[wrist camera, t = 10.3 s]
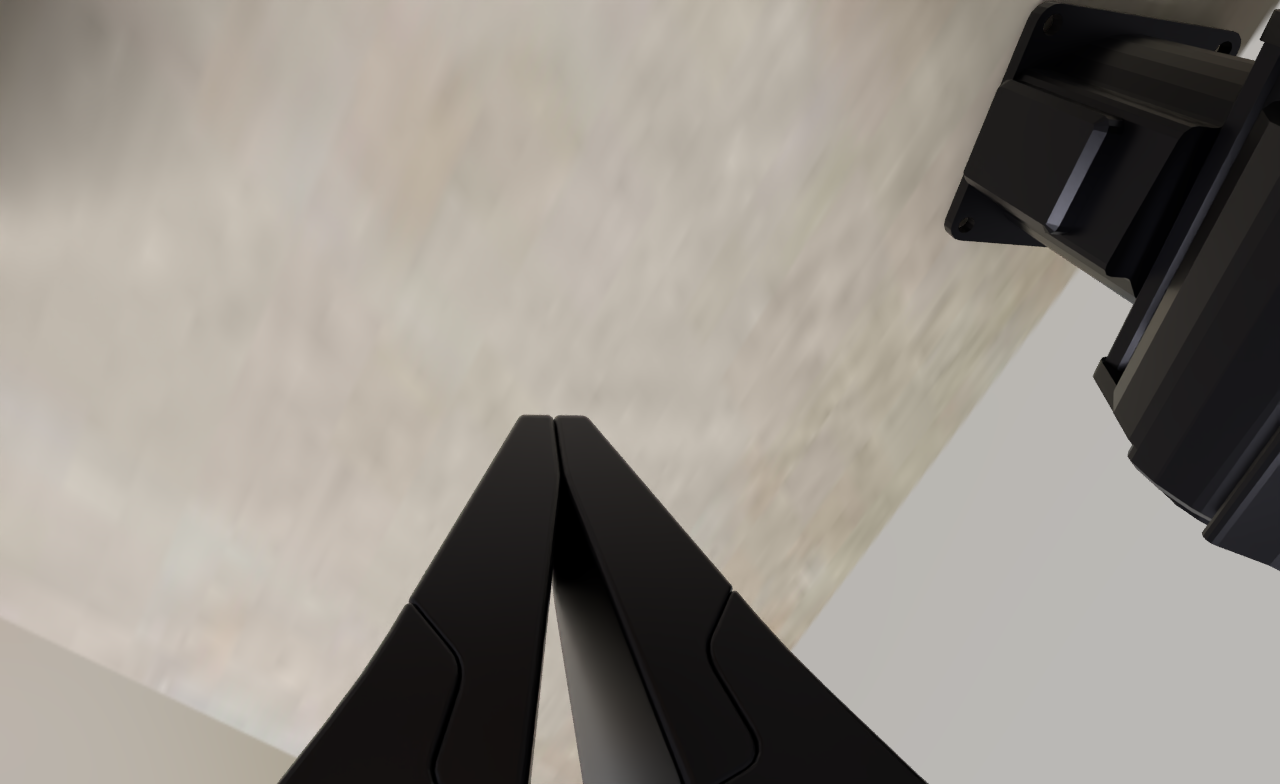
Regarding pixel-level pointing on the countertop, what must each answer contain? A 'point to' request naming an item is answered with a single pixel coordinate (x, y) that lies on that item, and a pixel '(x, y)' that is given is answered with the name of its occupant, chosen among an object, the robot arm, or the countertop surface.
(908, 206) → the countertop surface
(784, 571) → the countertop surface
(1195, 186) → the robot arm
